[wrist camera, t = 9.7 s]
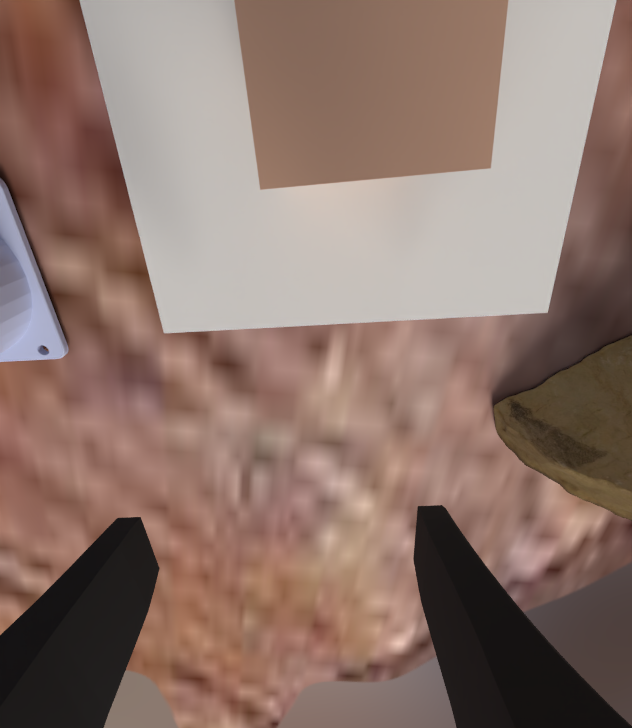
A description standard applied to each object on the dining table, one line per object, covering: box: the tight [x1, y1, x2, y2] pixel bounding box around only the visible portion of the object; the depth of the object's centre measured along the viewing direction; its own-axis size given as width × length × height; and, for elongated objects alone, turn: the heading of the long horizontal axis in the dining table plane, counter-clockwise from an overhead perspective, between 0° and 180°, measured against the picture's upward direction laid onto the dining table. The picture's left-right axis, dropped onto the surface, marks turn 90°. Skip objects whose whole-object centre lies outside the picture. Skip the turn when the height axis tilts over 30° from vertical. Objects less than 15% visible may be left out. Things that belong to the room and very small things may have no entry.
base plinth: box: [80, 0, 616, 333], centre depth 13 cm, size 15×15×3 cm
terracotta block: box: [234, 0, 508, 190], centre depth 9 cm, size 4×4×6 cm
